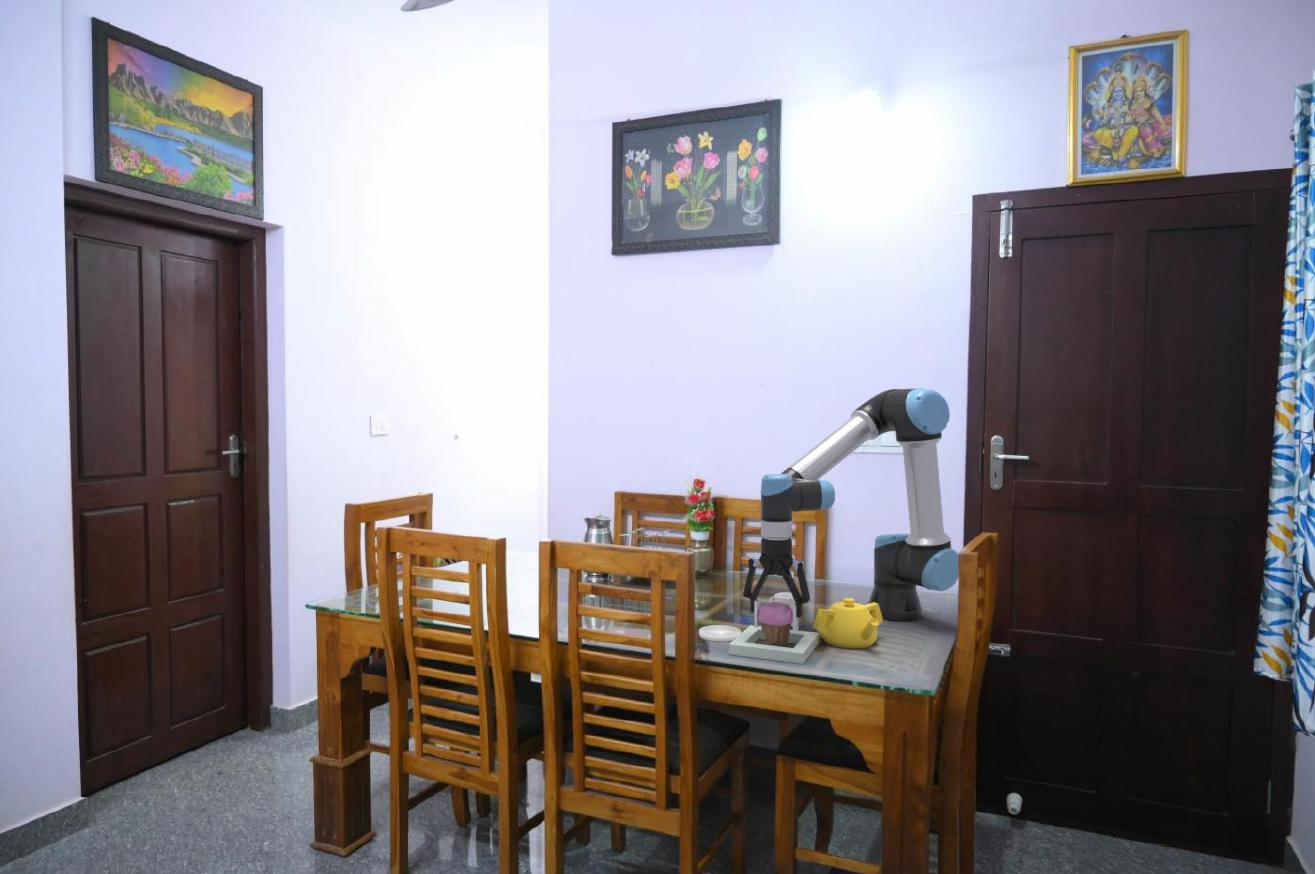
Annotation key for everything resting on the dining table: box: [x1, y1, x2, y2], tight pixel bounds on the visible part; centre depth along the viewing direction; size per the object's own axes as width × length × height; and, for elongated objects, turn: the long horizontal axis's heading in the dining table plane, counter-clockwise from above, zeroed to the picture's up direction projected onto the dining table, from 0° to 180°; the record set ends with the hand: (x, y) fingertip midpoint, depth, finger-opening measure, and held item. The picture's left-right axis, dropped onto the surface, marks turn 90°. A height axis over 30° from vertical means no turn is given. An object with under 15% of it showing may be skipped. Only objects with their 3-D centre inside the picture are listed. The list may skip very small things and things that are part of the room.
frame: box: [728, 624, 820, 665], centre depth 202 cm, size 18×18×2 cm
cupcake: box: [758, 601, 793, 645], centre depth 202 cm, size 9×9×10 cm
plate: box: [698, 624, 742, 643], centre depth 213 cm, size 11×11×1 cm
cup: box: [768, 591, 795, 627], centre depth 225 cm, size 7×10×8 cm
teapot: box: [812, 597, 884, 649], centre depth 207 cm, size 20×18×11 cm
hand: (776, 627), depth 202 cm, fingers closed on cupcake, 9 cm apart
